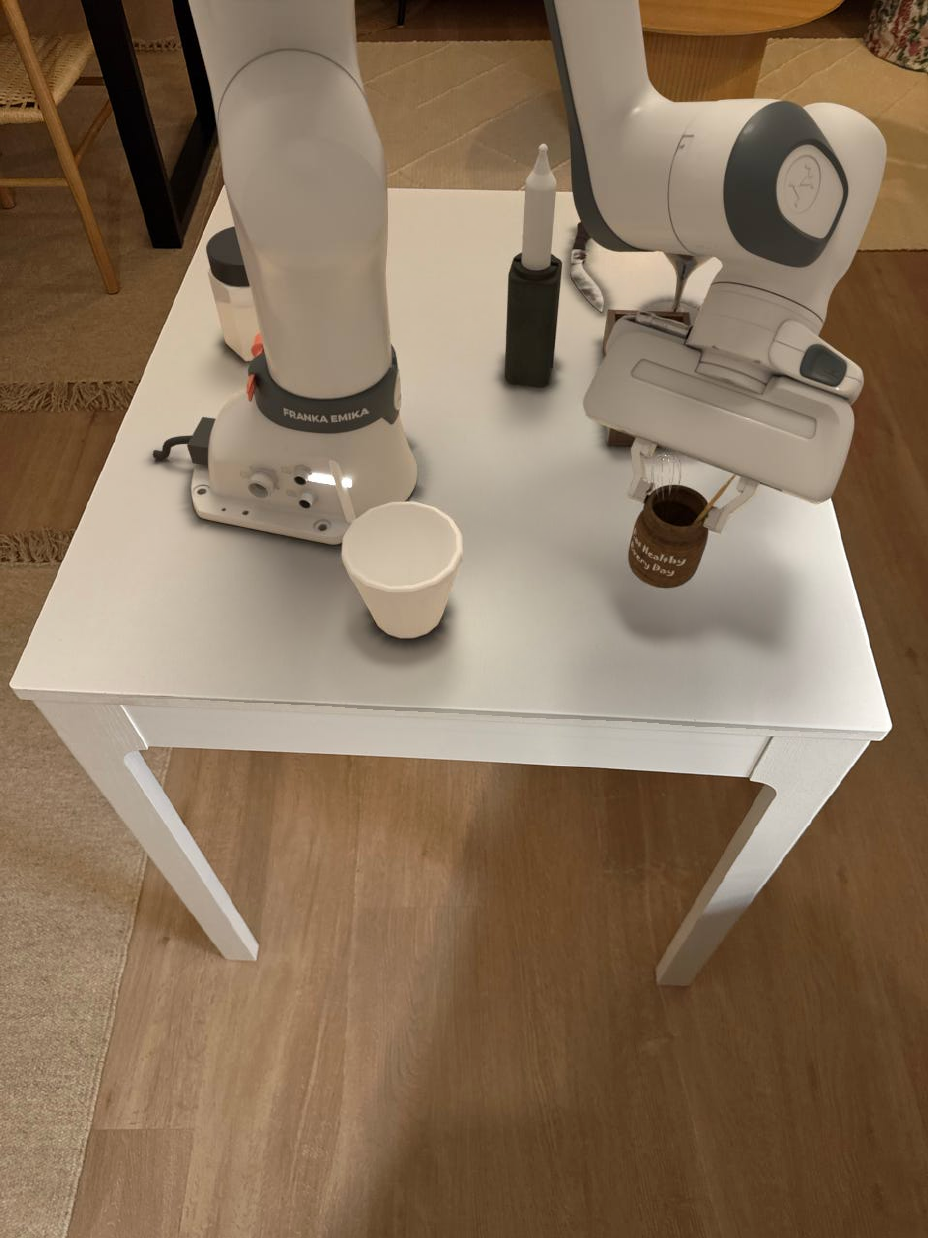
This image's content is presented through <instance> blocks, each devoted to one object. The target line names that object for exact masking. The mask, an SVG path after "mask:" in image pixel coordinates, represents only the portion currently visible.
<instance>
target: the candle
mask: <svg viewBox="0 0 928 1238" xmlns="http://www.w3.org/2000/svg"><path fill="white" fill-rule="evenodd" d="M548 150H549V147H548V146H547V144H546V143H541V144H540V145H539V147H538V152H539V153H538V155H537V158H536V161H535V164H534V166H533V169H532V171H531V172H530V173H529V174H528V176H527V177H526V178H525V185H524V202H523V203H524V205H523V206H524V207H523V224H522V245H521V252H519V253H518V254H516V255H515V256H514V257H513V258H512V261H511V265H510V268H509V271H508V274H507V296H506V297H507V298H506V299H507V301H506V302H507V303H506V304H507V305H506V328H505V354H504V376H503V377H504V380H505V382H506V383H508V384H510V385H517V386H523V387H530V388H531V387H533V388H544V387H547V386H548V385H549V384H550V381H551V373H552V371H551V369H552V368H554V362H555V361H554V360H555V351H556V350H555V349H556V347H555V346H556V339H557V338H556V337H557V327H558V317H559V316H558V315H559V306H560V293H561V284H562V283H561V282H562V273H563V262H562V260H561V259H560V258H558V257H557V256H556V255H555V254H553V253H552V247H553V234H554V233H553V232H554V220H555V209H556V197H557V179H556V178H555V176H554V174H553V172H552V171H551V167H550V162H549V159H548V158H549V157H548V153H547V152H548Z"/></svg>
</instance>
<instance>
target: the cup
mask: <svg viewBox="0 0 928 1238" xmlns="http://www.w3.org/2000/svg"><path fill="white" fill-rule="evenodd" d="M463 554H464V553H463V534H462V532H461V531H460V529H459V527H458V526H457V524H456V522H455V520H454V518H452V517H450V516H448V514H446V513H444V512H443V511H442V510H441V509H439V508H437V507H436V506H432V505H429V504H424V503H421V502H417V501H405V502H390V503H387V504H384V505H381V506H377V507H374V508H371V509H369V510H368V511H367V512H365V513H364V514H362V515H361V516H360V517H358V518H357V519H355V520H354V521H353V522H352V524H351V525H350V527H349V528H348V530H347V532H346V533H345V535H344V536H343V542H342V543H341V560H342V564H343V565H344V568H345V570H346V572H347V574H348V576H349V579H350V580H351V582H353V584H354V585H355V587H356V589H357V591H358V593H359V595H360V596H361V598H362V600H363V602H364V604H365V605H366V607H367V609H368V611H369V613H370V614H371V616H372V618H373V620H374V621H375V623H376V626H377V627H378V628H380V629H381V630H382V631H383V632H384V633H386V634H387V635H388V636H391V637H394V638H396V639H401V640H404V639H405V640H408V639H412V640H413V639H414V640H415V639H417V638H421V637H423V636H426V635H428V634H429V633H430V632H431V631H432V630H433V629H435V628H436V627H438V625H439V623H440V621H441V618H442V617H443V615H444V612H445V610H446V607H447V602H448V600H449V597H450V594H451V591H452V588H453V587H454V586H453V585H454V583H455V580H456V577H457V573H458V571H459V568H460V567H461V564H462V562H463V556H464V555H463Z"/></svg>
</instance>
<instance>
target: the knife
mask: <svg viewBox="0 0 928 1238" xmlns="http://www.w3.org/2000/svg"><path fill="white" fill-rule="evenodd" d="M576 229H577V230H576V231H577V233H576V236H575V238H574V243H573V246H572V250H571V255H570V256H571V257H570V278H571V280H572V282H573V284H574V285H575V286H576V287H577V289H578V290H579V292H580V293H581V295H582V296H583V297H584V298H585V299H586V300H587V301H588V302H589V303H590V305H592V306H593V307H594V308H595V309H596V310H598V311H599V312H601V313H602V312H603V310H604V308H605V300H604V295H603V293H602V291H601V289H600V287H599V286H598V285H597V283H596V282H595V281H594V280H593V278H592V277H591V276H590V275H589V274H588V273H587V271H586V270H585V269H584V267H583V262H584V261H585V260H586V259H587V256H588V254H586V252H587V251H586V242H587V238H588V237H590V235H589V234H588V233H587V231H586V230H585V228H584V227H583V225H582V223H581V221H579V222H578V223H577V227H576Z"/></svg>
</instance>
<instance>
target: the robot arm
mask: <svg viewBox="0 0 928 1238" xmlns="http://www.w3.org/2000/svg"><path fill="white" fill-rule="evenodd" d="M543 2H544V3H543V4H544V9H545V13H546V20H547V24H548V30H549V34H550V39H551V44H552V49H553V53H554V54H553V55H554V59H555V64H556V69H557V74H558V78H559V83H560V89H561V94H562V99H563V104H564V108H565V114H566V119H567V126H568V135H569V147H570V150H569V151H570V180H571V183H570V184H571V191H572V192H571V193H572V198H573V204H574V207H575V210H576V214H577V216H578V218H579V222H581V223H582V225H583V227H584V228H585V230H586V231H587V233H588V234H589V238H591V239H592V240H593V242H595V243H596V244H597V245H599V246H600V247H601V248H604V249H606V250H608V251H611V252H616V253H655V252H660V253H663V252H667V253H675V254H683V255H690V256H698V257H713V258H716V259H717V260H718V261H720V262H721V265H722V267H720V268H721V269H720V270H719V271H718V272H717V273H716V275H715V276H714V277H713V279H712V281H711V282H710V284H709V287H708V289H707V292H706V294H705V297H704V300H703V302H702V304H701V307H700V309H699V310H698V311H699V313H698V316H697V318H696V320H695V323H694V325H693V326H690V325H688V324H684V323H681V322H678V321H675V320H670V319H666V318H660V317H658V316H656V315H655V314H653V313H651V312H647V311H646V310H638V311H639V312H638V313H637V314H628V315H625V316H623V317H621V318H620V319H619V320H618V321H617V322H616V323H615V325H614V326H613V328H612V331H611V333H610V336H609V338H608V341H607V343H606V356H605V358H603V360H602V361H601V363H600V364H599V366H598V368H597V370H596V372H595V374H594V375H593V377H592V379H591V382H590V383H589V385H588V388H587V390H586V392H585V394H584V397H583V399H582V407H583V411H584V413H585V416H586V417H587V418H588V419H589V420H591V421H593V422H594V423H596V424H599V425H602V426H604V427H606V426H607V427H610V428H612V429H615V430H618V431H620V432H623V433H626V434H628V435H631V436H634V437H636V438H635V440H634V443H633V445H632V446H631V448H630V456H631V457H630V458H631V464H632V472H633V475H634V476H633V479H632V481H631V484H630V486H629V488H628V491H627V495H626V497H627V498H628V499H631V500H634V501H636V502H639V503H641V504H643V505H644V504H645V502H646V500H647V498H648V496H649V495H650V494H651V492H653V491H652V489H653V490H655V486H654V484H655V482H653V481H651V480H648V479H647V473H646V462H645V461H646V460H645V458H648V459H651V458H652V457H653V455H654V453H655V451H656V449H657V447H656V446H657V445H658V446H660V447H659V448H662V447H663V448H662V449H666V450H668V451H671V452H674V453H677V454H680V455H682V456H685V457H688V458H689V459H692V460H695V461H697V462H701V463H703V464H706V465H709V466H711V467H714V468H716V469H719V470H721V471H725V472H727V473H730V474H732V475H734V474H736V476H737V477H740V478H739V480H738V483H737V484H736V487H735V489H736V490H737V492H738V493H740V494H739V495H737V496H736V497H734V498H733V499H732V500H731V501H730V502H728V503H727V504H726V505H724V506H722V508H720V507H717V506H715V505H713V506H712V507H711V508H710V510H709V512H708V516H709V517H707V518H706V519H705V521H704V523H703V527H704V528H706V529H708V531H711V532H714V533H716V534H719V535H722V534H723V533H724V531H725V528H726V526H727V524H728V522H729V519H730V518H731V515H732V514H735V513H736V512H737V511H738V510H740V509H741V508H743V507H744V506H745V505H747V504H749V502H751V501H752V500H753V499H755V497H756V495H757V492H758V491H759V488H760V486H761V485H762V486H765V487H767V488H770V489H773V490H775V491H778V492H781V493H783V494H786V495H789V496H791V497H794V498H796V499H799V500H802V501H805V502H807V503H810V504H813V505H820V504H822V503H824V502H826V501H828V500H830V499H832V497H833V494H834V492H835V491H836V487H837V485H838V483H839V481H840V478H841V476H842V472H843V469H844V466H845V464H846V460H847V457H848V454H849V452H850V447H851V444H852V440H853V436H854V435H853V434H854V431H855V414H854V411H853V409H852V407H851V406H852V405H854V403H855V402H857V400H858V399H859V396H860V394H861V392H862V390H863V387H864V382H865V377H864V373H863V369H862V368H861V367H860V366H859V365H858V364H857V363H855V362H854V361H852V360H851V359H850V358H849V357H847V356H845V355H844V354H843V353H841V352H840V351H839V350H837V349H835V347H833V346H832V345H831V344H829V343H828V342H826V341H825V340H824V339H822V338H821V337H819V336H820V333H821V331H822V330H823V327H824V324H825V322H826V319H827V312H828V308H829V307H828V306H829V301H830V299H831V295H832V294H833V291H834V289H835V287H836V285H837V284H838V283H839V281H840V280H841V279H843V277H844V275H845V274H846V273H847V271H848V270H849V268H850V267H851V264H852V262H853V260H854V258H855V255H856V254H857V251H858V249H859V246H860V244H861V241H862V239H863V236H864V235H865V231H866V230H867V226H868V224H869V223H870V219H871V217H872V216H871V215H872V214H873V211H874V208H875V205H876V202H877V200H878V196H879V193H880V189H881V185H882V182H883V177H884V173H885V170H886V169H885V168H886V164H887V163H886V162H887V154H888V150H887V149H888V147H887V143H886V139H885V137H884V135H883V134H882V132H881V130H880V129H879V127H878V126H876V124H875V123H874V122H873V121H872V120H871V119H869V118H868V117H867V116H866V115H864V114H863V113H862V112H859V110H855V109H853V108H852V107H849V106H846V105H844V104H840V103H835V102H828V101H827V102H825V101H823V102H814V103H813V102H812V103H810V104H806V105H804V106H802V105H800V104H798V103H796V102H793V101H789V100H781V99H776V98H736V99H735V98H731V99H730V98H729V99H719V100H715V101H711V100H710V101H679V102H678V101H675V102H674V101H672V100H670V99H668V98H667V97H665V96H663V95H662V94H660V92H659V91H657V89H655V87H654V86H653V84H652V82H651V80H650V77H649V75H648V74H649V73H648V67H647V58H646V51H645V45H644V44H645V42H644V36H643V28H642V27H643V26H642V19H641V12H640V11H641V10H640V3H639V0H543ZM355 3H356V2H355V0H188V5H189V8H190V12H191V17H192V19H193V24H194V28H195V31H196V35H197V38H198V43H199V47H200V50H201V51H200V52H201V55H202V59H203V63H204V67H205V71H206V76H207V80H208V83H209V84H208V85H209V89H210V93H211V99H212V105H213V110H214V118H215V123H216V131H217V138H218V143H219V144H218V147H219V152H220V153H219V155H220V159H221V160H220V161H221V168H222V177H223V183H224V188H225V192H226V196H227V197H226V198H227V200H228V204H229V209H230V214H231V217H232V221H233V225H234V226H235V230H236V234H237V238H238V242H239V246H240V250H241V254H242V258H243V262H244V266H245V270H246V273H247V277H248V281H249V284H250V288H251V292H252V296H253V301H254V306H255V310H256V315H257V320H258V324H259V329H260V333H258V334H257V335H256V337H255V339H254V345H253V346H252V348H251V352H252V355H253V356H254V357H255V358H254V359H253V360H252V361H250V363H249V365H248V368H247V369H248V370H247V374H248V380H247V382H246V387H245V388H242V389H241V390H239V391H237V392H235V393H234V394H233V395H231V396H230V397H229V398H228V399H227V400H226V401H225V403H224V404H223V405H222V407H221V409H220V410H219V412H218V414H217V416H216V417H215V418H214V417H207V416H202V417H201V419H200V421H199V423H198V425H197V426H196V428H195V430H194V432H193V433H192V434H191V435H177V436H174V437H170V438H168V439H166V440H165V441H164V442H163V444H162V449H161V450H157V449H154V450H153V451H152V457H153V459H157V460H165V459H168V458H169V457H170V455H171V453H172V448H173V447H175V446H180V445H186V447H187V451H188V453H189V456H190V459H191V462H192V464H194V469H193V472H192V478H191V487H190V491H191V492H190V493H191V499H192V503H193V507H194V511H195V512H196V514H197V515H198V517H199V518H201V519H204V520H206V521H212V522H218V523H222V524H226V525H227V524H228V525H231V526H237V527H242V528H247V529H252V530H257V531H262V532H267V533H272V534H277V535H280V536H281V535H282V536H286V537H291V538H296V539H301V540H306V541H310V542H316V543H321V544H327V545H331V546H332V545H335V546H336V545H340V544H342V542H343V536H344V535H345V533H346V532H347V530H348V528H349V527H350V525H351V524H352V522H353V521H354V520H355V519H357V518H358V517H360V516H361V515H362V514H364V513H365V512H367V511H368V510H369V509H371V508H374V507H377V506H381V505H384V504H387V503H390V502H407V500H408V499H409V497H410V496H411V494H412V493H413V492H414V489H415V487H416V484H417V482H418V476H419V470H418V464H417V461H416V458H415V456H414V454H413V452H412V450H411V448H410V446H409V442H408V440H407V437H406V433H405V429H404V427H403V423H402V419H401V413H400V411H401V408H402V386H401V371H400V368H399V365H398V357H397V353H396V348H395V347H394V346H393V344H392V339H391V328H390V327H391V326H390V314H389V313H390V312H389V302H388V301H389V300H388V288H387V287H388V286H387V256H388V241H389V240H388V239H389V236H388V235H389V197H388V196H389V193H388V192H389V191H388V190H389V189H388V166H387V158H386V153H385V149H384V147H383V143H382V141H381V140H382V139H381V138H380V135H379V133H378V132H379V131H378V129H377V126H376V124H375V120H374V117H373V115H372V112H371V109H370V106H369V103H368V102H369V101H368V99H367V95H366V91H365V87H364V84H363V79H362V75H361V69H360V63H359V62H360V61H359V54H358V42H357V27H356V26H357V25H356V7H355V6H356V5H355ZM629 319H635V322H636V323H634V322H631V321H628V320H629ZM652 328H653V329H652ZM655 329H657V330H655ZM658 330H659V331H658ZM607 427H606V428H607ZM651 484H652V487H651Z"/></svg>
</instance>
